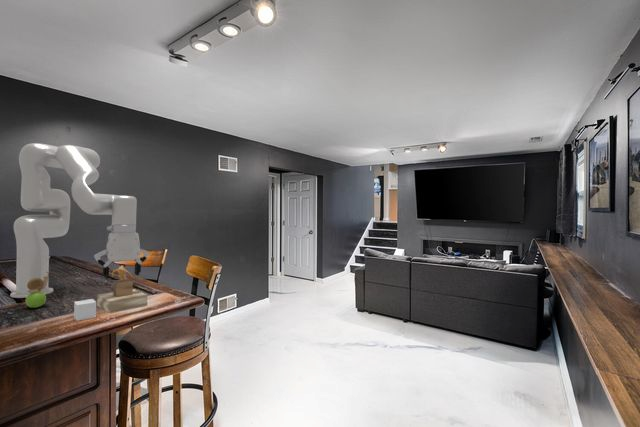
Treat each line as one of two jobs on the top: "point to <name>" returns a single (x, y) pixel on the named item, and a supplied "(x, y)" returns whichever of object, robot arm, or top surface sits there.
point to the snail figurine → (36, 292)
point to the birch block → (121, 301)
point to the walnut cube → (123, 287)
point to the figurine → (120, 272)
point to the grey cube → (84, 309)
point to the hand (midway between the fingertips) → (122, 276)
